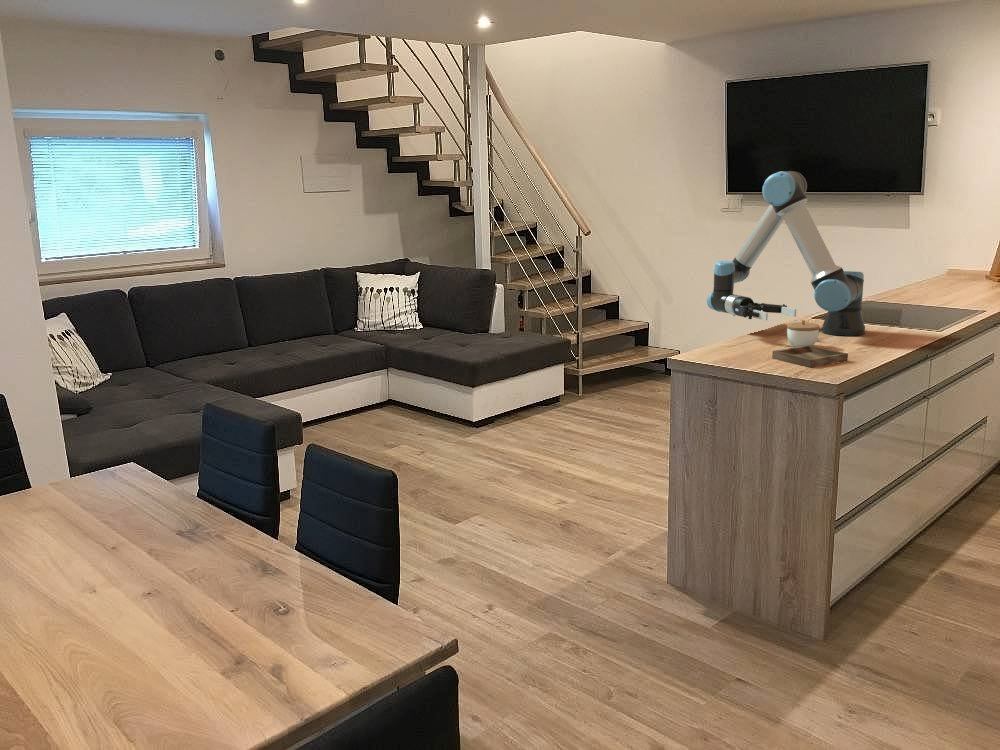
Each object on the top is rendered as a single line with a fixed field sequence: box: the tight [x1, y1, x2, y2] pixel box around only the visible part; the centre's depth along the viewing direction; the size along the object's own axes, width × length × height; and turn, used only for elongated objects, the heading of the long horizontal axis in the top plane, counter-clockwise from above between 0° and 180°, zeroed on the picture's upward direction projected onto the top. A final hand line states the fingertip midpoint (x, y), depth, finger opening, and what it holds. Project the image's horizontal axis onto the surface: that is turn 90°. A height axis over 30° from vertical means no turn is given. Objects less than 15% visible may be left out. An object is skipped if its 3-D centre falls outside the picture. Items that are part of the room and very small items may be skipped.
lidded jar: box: [786, 319, 821, 348], centre depth 304 cm, size 11×11×9 cm
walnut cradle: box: [772, 345, 849, 368], centre depth 285 cm, size 16×16×2 cm
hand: (781, 314), depth 311 cm, fingers open, 13 cm apart
